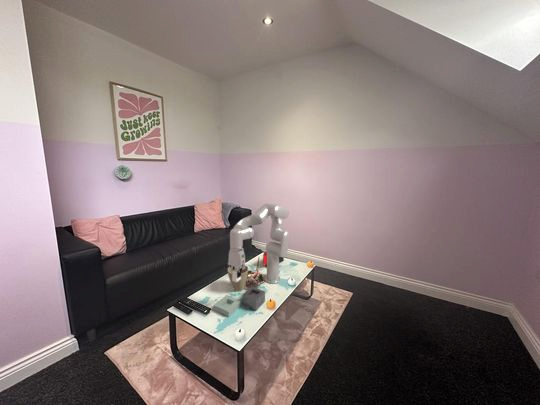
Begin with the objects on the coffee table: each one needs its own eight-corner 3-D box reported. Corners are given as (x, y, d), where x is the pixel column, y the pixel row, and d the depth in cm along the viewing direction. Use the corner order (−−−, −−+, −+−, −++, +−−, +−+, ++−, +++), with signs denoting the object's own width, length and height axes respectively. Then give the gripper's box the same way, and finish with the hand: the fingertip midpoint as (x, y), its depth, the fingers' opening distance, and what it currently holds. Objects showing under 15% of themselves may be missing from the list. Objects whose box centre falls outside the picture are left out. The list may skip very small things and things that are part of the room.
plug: (236, 277, 133) (236, 267, 132) (240, 279, 132) (240, 268, 130) (232, 280, 129) (232, 270, 128) (236, 282, 128) (236, 271, 127)
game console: (280, 257, 205) (281, 243, 203) (286, 259, 201) (286, 245, 199) (261, 267, 185) (261, 252, 182) (266, 270, 181) (267, 254, 178)
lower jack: (226, 299, 140) (226, 294, 140) (240, 305, 135) (240, 300, 134) (214, 310, 130) (213, 305, 130) (228, 317, 124) (228, 311, 124)
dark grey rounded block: (251, 296, 144) (251, 286, 143) (264, 301, 139) (265, 291, 138) (242, 305, 135) (241, 295, 134) (256, 311, 130) (256, 300, 128)
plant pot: (242, 280, 163) (242, 262, 160) (252, 290, 151) (252, 270, 149) (224, 287, 155) (224, 267, 152) (233, 297, 143) (233, 276, 140)
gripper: (250, 249, 126) (250, 277, 130) (229, 244, 134) (230, 270, 137) (243, 253, 120) (243, 282, 123) (222, 248, 127) (222, 275, 131)
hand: (236, 275), depth 130 cm, fingers closed on plug, 3 cm apart
